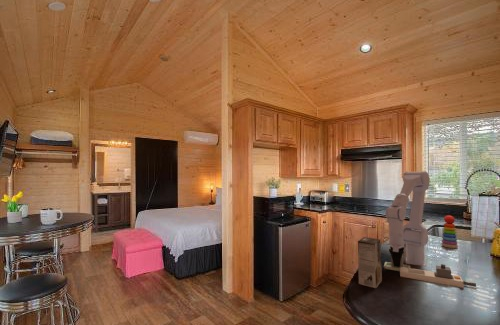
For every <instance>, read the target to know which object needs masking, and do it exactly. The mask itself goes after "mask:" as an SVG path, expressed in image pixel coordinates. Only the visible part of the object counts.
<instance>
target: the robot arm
mask: <svg viewBox="0 0 500 325" xmlns="http://www.w3.org/2000/svg"><path fill="white" fill-rule="evenodd" d="M402 180H403V184H402V187H401V189H400V190H401V191H400V193H397V194H396V195H395V197H394V199H393V202H392V203H391V205H390V206H389V207H386V210H385V217H386V222H387V223H388V242H387V241H386V245H387V246H389V249H388V252H389V254H390V257H391V256H392V260H393V264H394V266H396V267H400V262H401V257H402V255H403V256H404V250H405V249H406V250H405V254H406V257H405V264H406V265H415V266H422V267H427V264H426V260H425V246H426V245H427V244H428V242H429V231H428V229H427V228H426V227H425V226H424V225H423V224H422V223H423V215H424V207H425V198H426V197H425V196H426V191H428V190H429V187H430V180H431V179H430V175H429V173H428V171H426V170H423V171H405V172H404V173H403V174H402ZM411 193H412V200H411V206H410V215H409V221H408V223H406V224H404V220H405V219H406V217H407V207H408V205H409V202H410V198H409V197H410V195H411ZM405 246H406V247H405Z"/></svg>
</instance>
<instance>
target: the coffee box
mask: <svg viewBox="0 0 500 325" xmlns="http://www.w3.org/2000/svg"><path fill="white" fill-rule="evenodd" d="M357 257H358V258H357V259H358V260H357V261H358V262H357V263H358V268H359V269H358V268H357V269H358V284H359V285H362V286H365V287H369V288H374V289H377V288H378V287H379V285H380V284H381V283H382V282H383V275H382V274H383V272H382V242H381V239H378V238H374V237H373V238H372V237H368V236H367V237H365V236H364V237H362V238H360V239H359V240H358V241H357Z"/></svg>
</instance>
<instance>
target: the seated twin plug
mask: <svg viewBox="0 0 500 325" xmlns="http://www.w3.org/2000/svg"><path fill="white" fill-rule="evenodd" d="M435 272H436V277H440V278H446V279H451V275H452V270H451V268H450V267H449V266H446V264H443V263H441V264H440V265H437V264H436V265H435Z"/></svg>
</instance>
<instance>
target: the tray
mask: <svg viewBox="0 0 500 325" xmlns="http://www.w3.org/2000/svg"><path fill="white" fill-rule="evenodd" d="M403 267H406V268H411V264H404V263H403ZM383 269H384V270H391V271H397V272H400V268H396V267H391V261H390V262H388V261H385V262H384V265H383Z"/></svg>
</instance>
